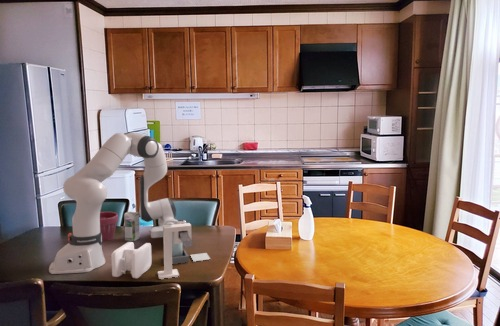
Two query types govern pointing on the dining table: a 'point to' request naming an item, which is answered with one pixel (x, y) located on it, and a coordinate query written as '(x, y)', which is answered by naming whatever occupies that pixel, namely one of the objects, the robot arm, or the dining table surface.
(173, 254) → the pale blue bottle
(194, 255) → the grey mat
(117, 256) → the cable organizer
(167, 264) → the stand
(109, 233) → the plant pot
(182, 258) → the socket collar
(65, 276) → the dining table surface
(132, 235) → the syrup box
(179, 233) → the bolt
